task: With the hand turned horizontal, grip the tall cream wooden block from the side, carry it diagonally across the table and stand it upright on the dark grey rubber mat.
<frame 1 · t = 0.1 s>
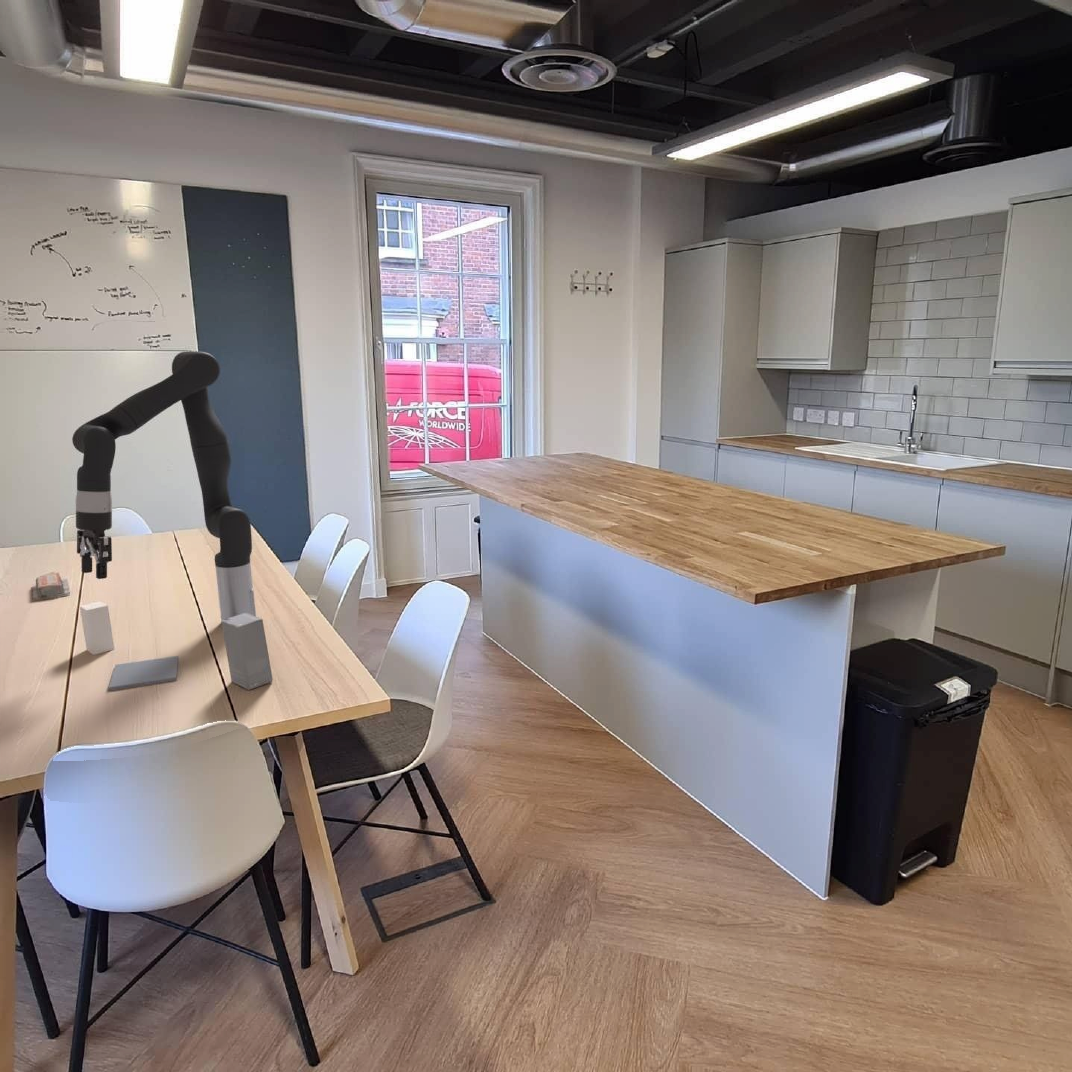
hand: (94, 575, 185), 22 cm above the table, tool pointing down, fingers open, 8 cm apart
skincare box: (250, 683, 178), on the table
packaged product: (51, 592, 247), on the table
cream block: (100, 649, 198), on the table
grey mat: (145, 674, 183), on the table
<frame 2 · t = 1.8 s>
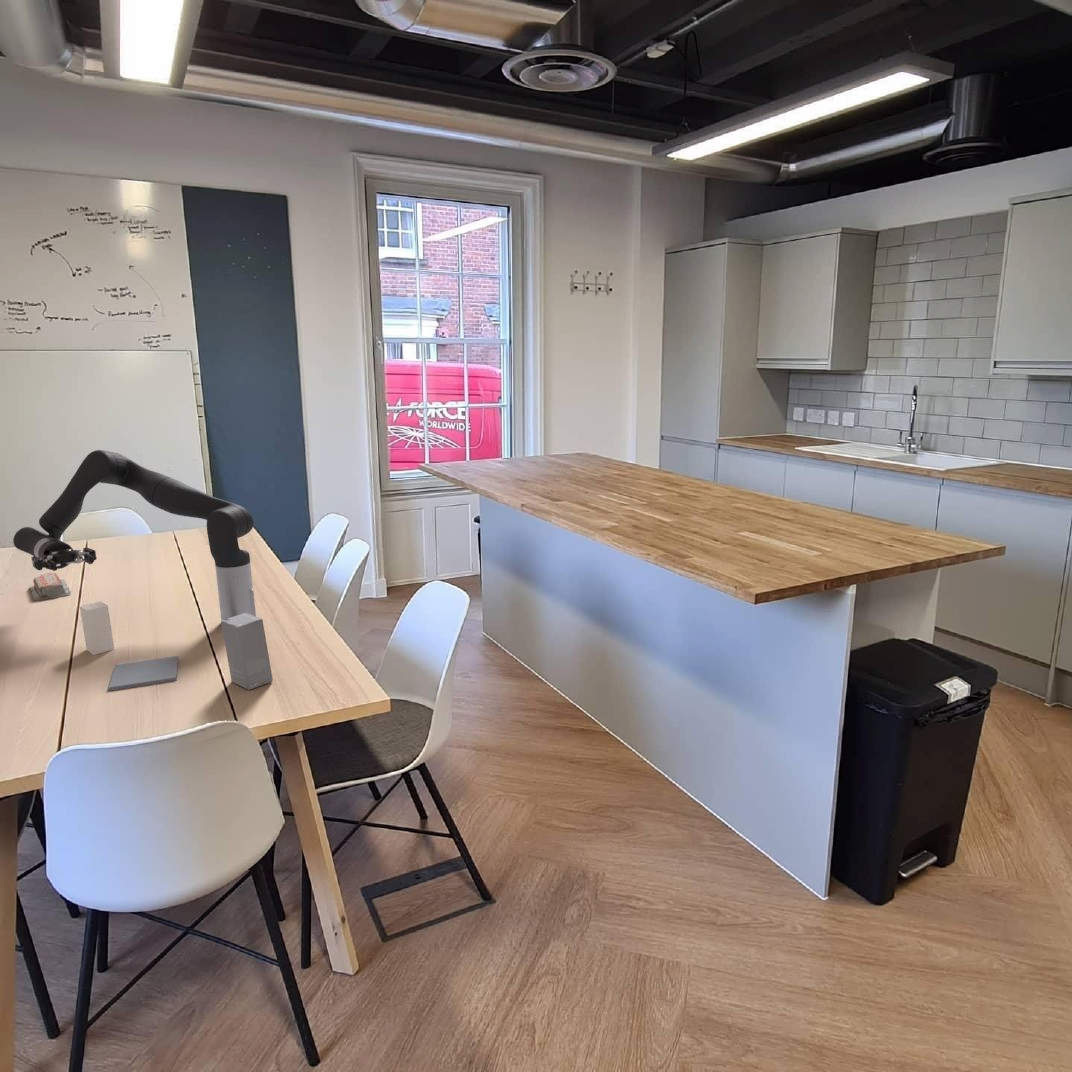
hand: (73, 563, 200), 21 cm above the table, tool horizontal, fingers open, 8 cm apart
nothing on the table moved.
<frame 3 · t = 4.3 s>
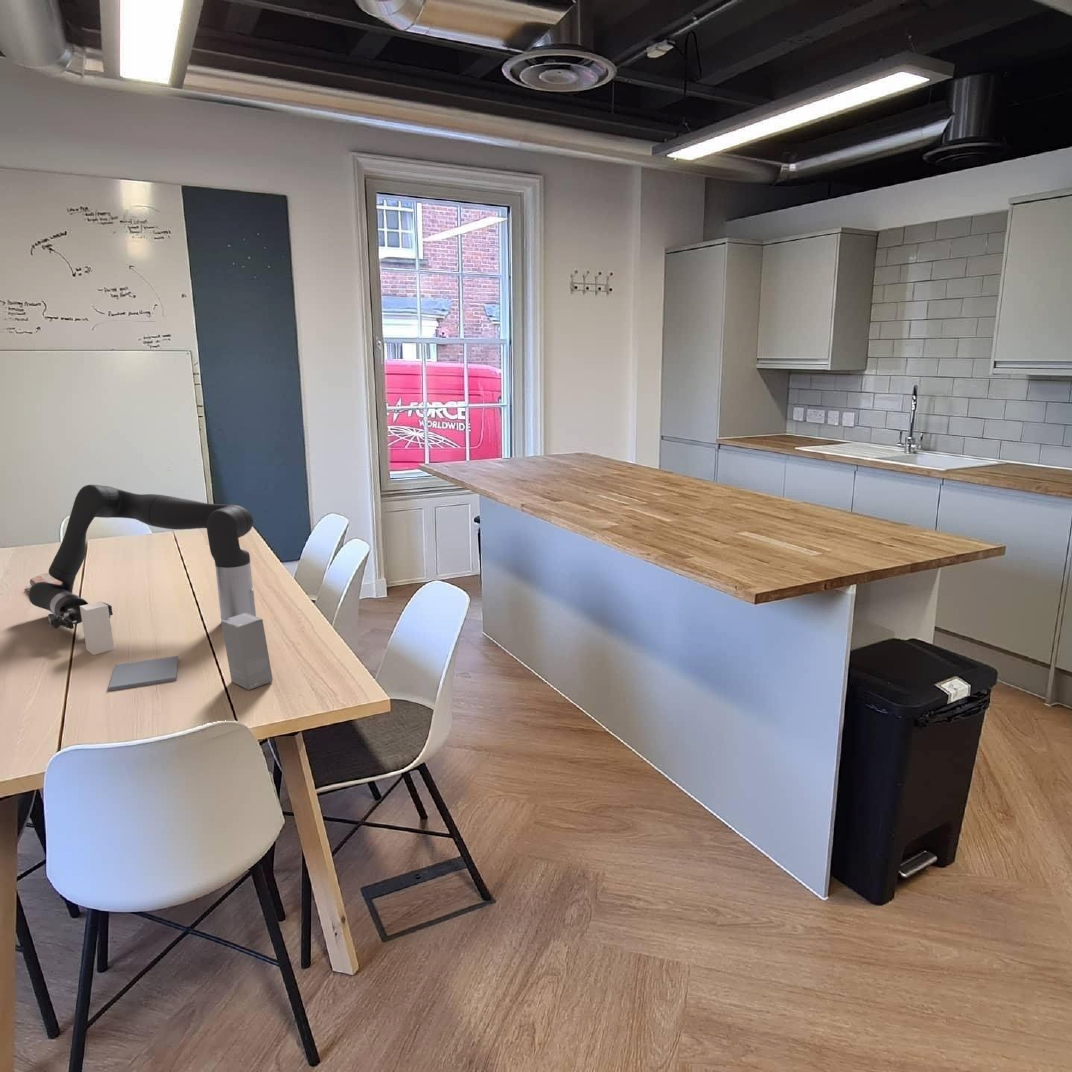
hand: (90, 620, 200), 7 cm above the table, tool horizontal, fingers open, 8 cm apart
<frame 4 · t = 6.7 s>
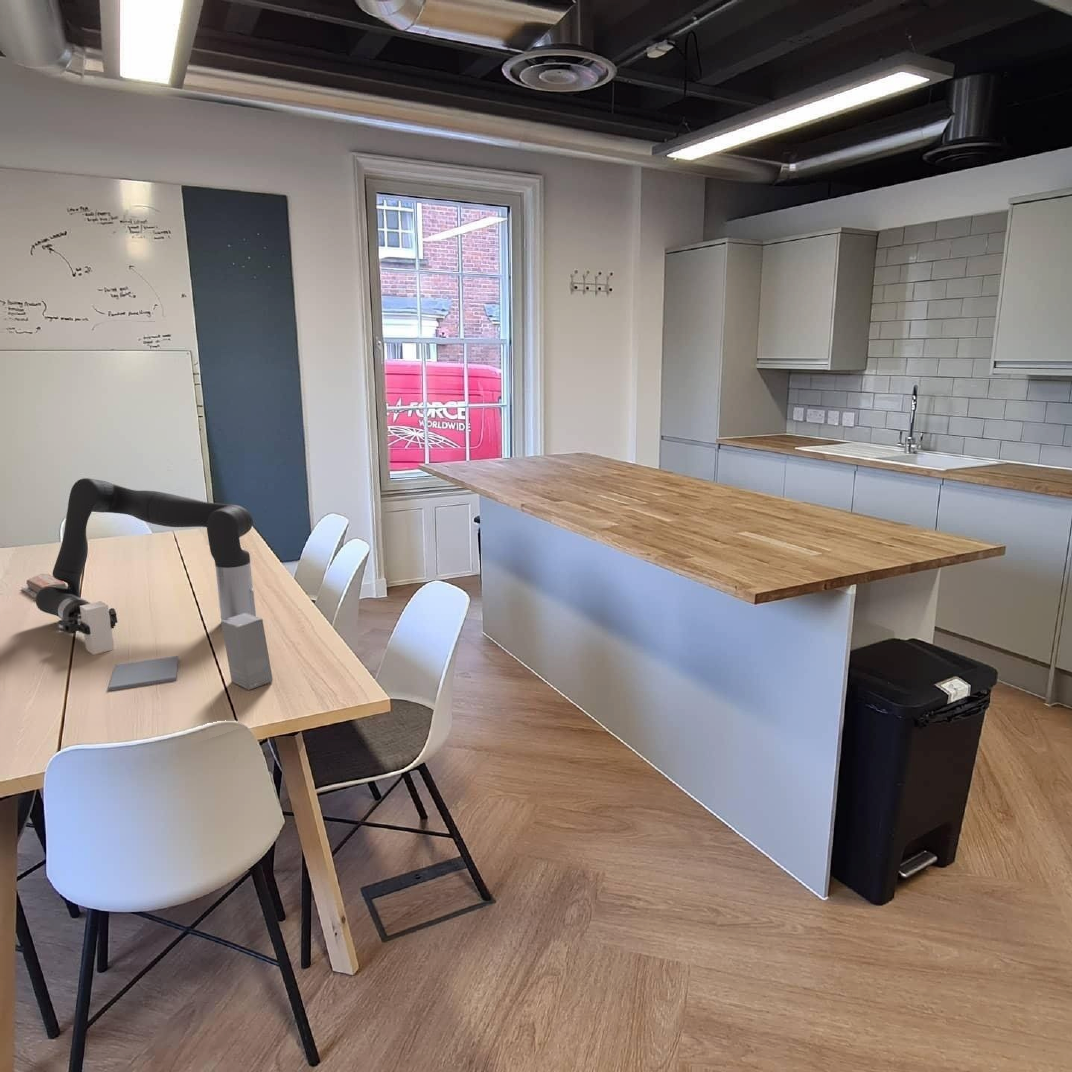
hand: (100, 627, 195), 7 cm above the table, tool horizontal, fingers closed on cream block, 5 cm apart
cream block: (100, 649, 198), on the table, touching gripper
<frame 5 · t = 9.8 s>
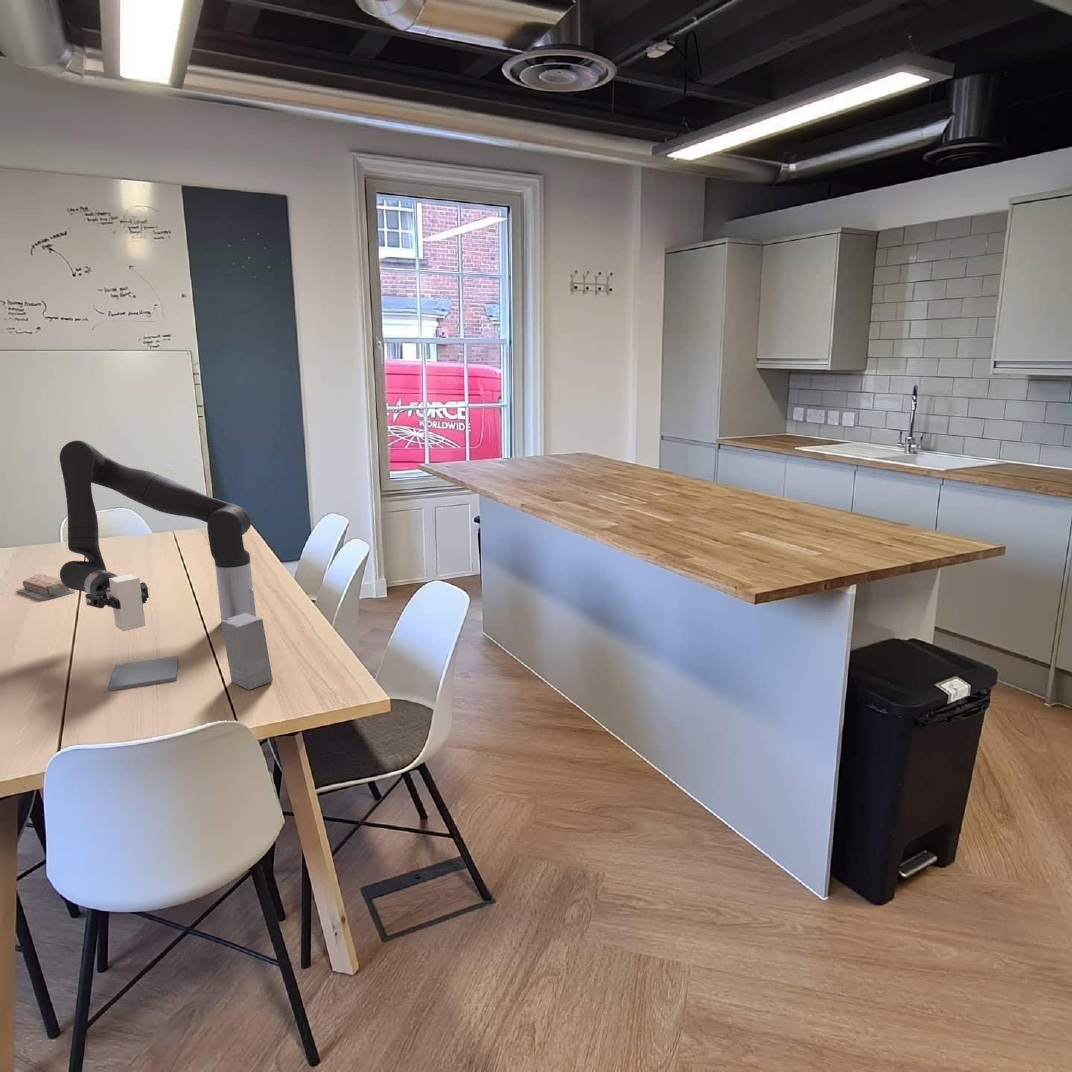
hand: (131, 602, 179), 18 cm above the table, tool horizontal, fingers closed on cream block, 5 cm apart
cream block: (130, 626, 182), point 11 cm above the table, touching gripper
when the fingers open (9 cm above the table, at t = 12.8 s): cream block drops 1 cm, resting on grey mat.
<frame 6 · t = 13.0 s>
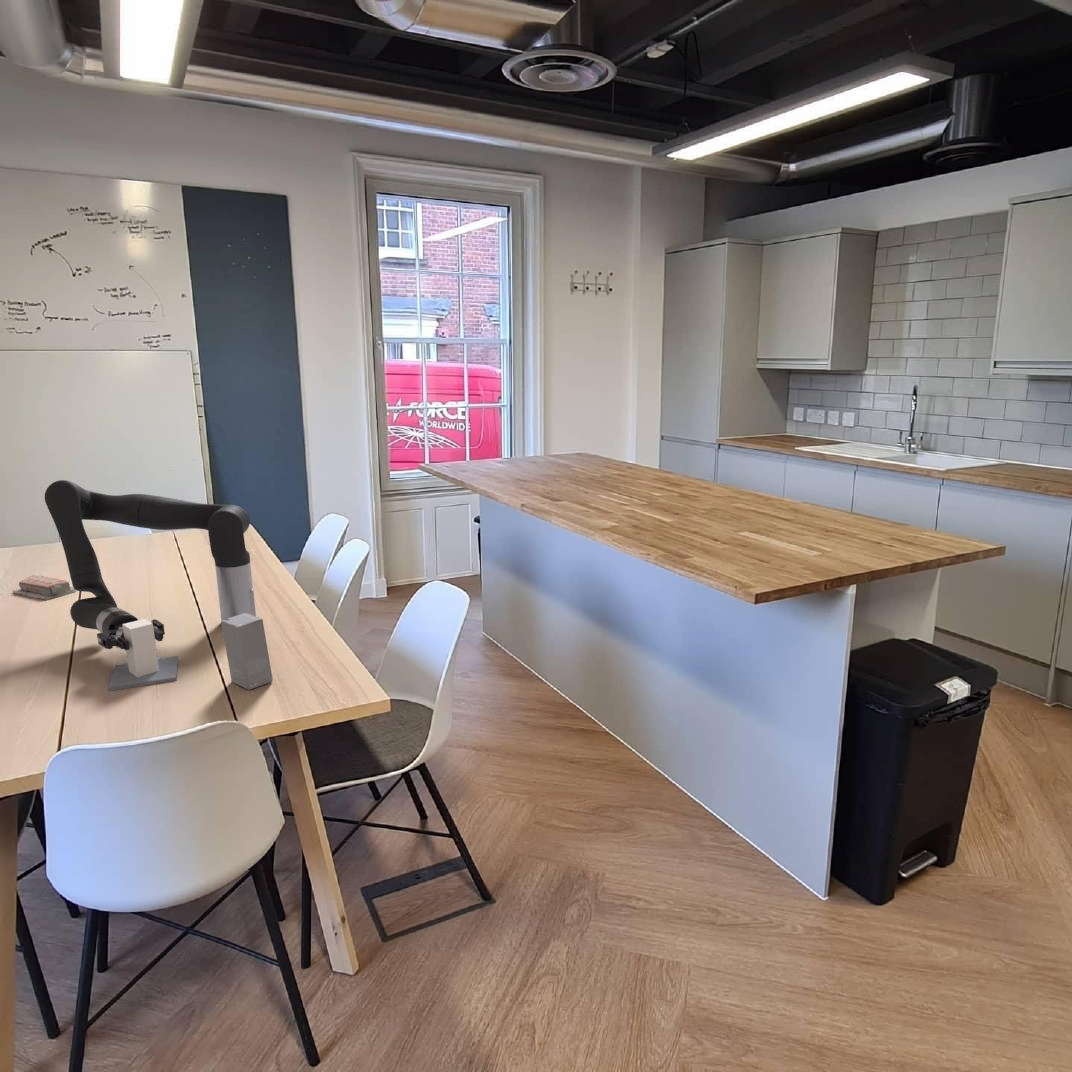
hand: (144, 641, 179), 9 cm above the table, tool horizontal, fingers open, 7 cm apart
cream block: (144, 671, 182), point 1 cm above the table, touching grey mat
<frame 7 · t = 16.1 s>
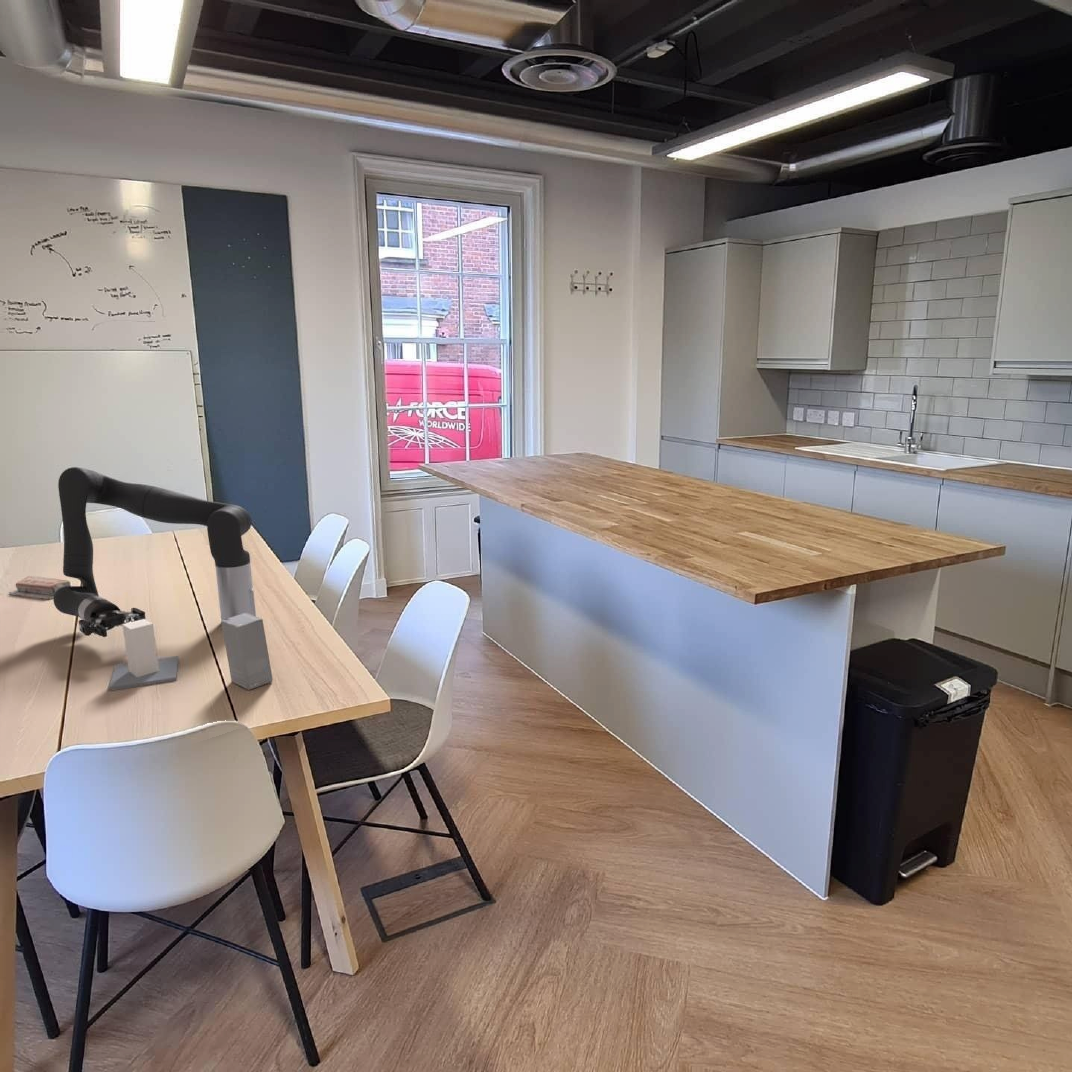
hand: (123, 628, 188), 9 cm above the table, tool horizontal, fingers open, 8 cm apart
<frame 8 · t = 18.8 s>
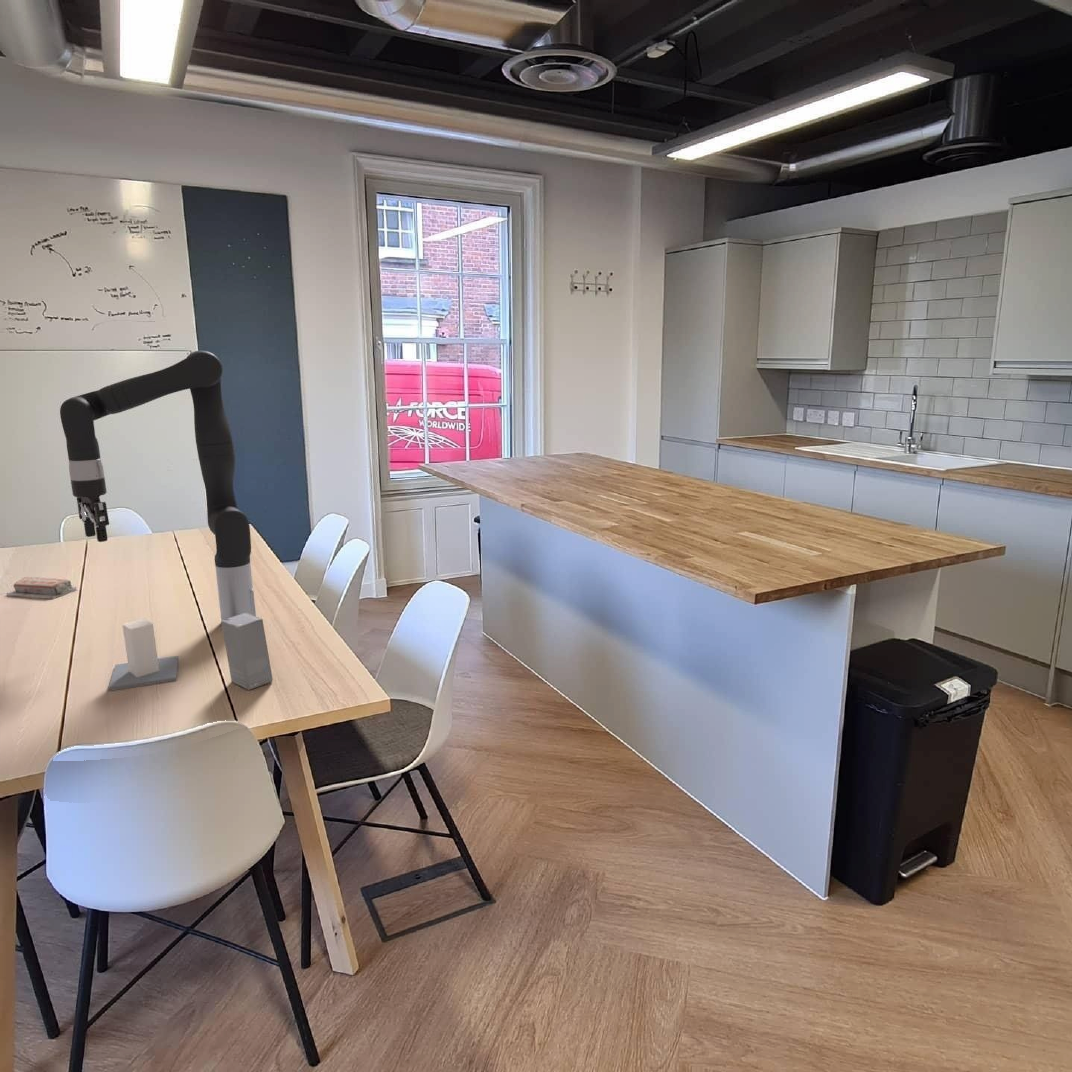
hand: (96, 538, 197), 28 cm above the table, tool pointing down, fingers open, 8 cm apart
at the end: cream block inside the target area on the grey mat (0.2 cm from its centre), point 0.8 cm above the grey mat's base; cream block tilted 0°; the gripper is holding nothing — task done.
